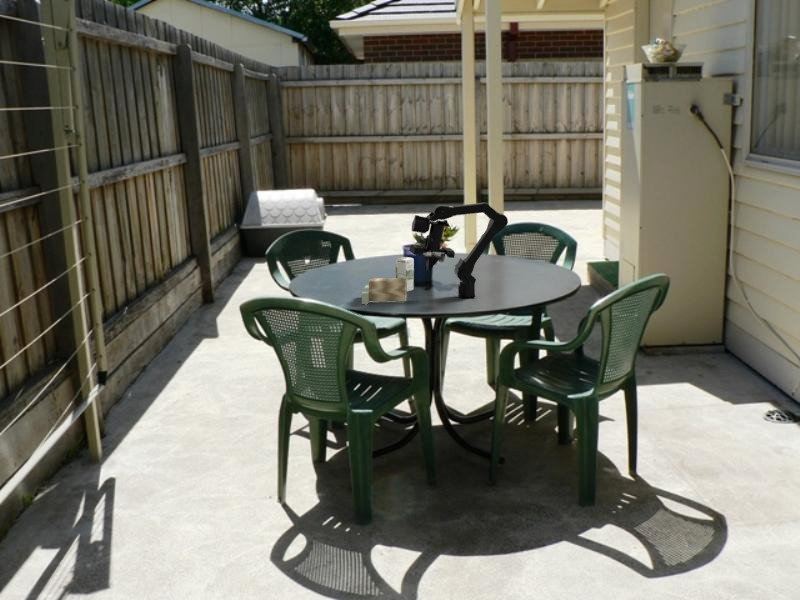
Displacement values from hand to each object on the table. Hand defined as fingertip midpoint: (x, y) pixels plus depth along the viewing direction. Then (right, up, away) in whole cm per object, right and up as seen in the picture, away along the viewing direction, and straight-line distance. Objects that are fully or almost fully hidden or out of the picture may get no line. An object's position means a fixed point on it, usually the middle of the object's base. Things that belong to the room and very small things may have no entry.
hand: (428, 270), depth 363 cm
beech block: (-17, -13, -1) cm, 21 cm away
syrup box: (-10, -8, +17) cm, 21 cm away
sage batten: (-26, -13, 0) cm, 28 cm away
